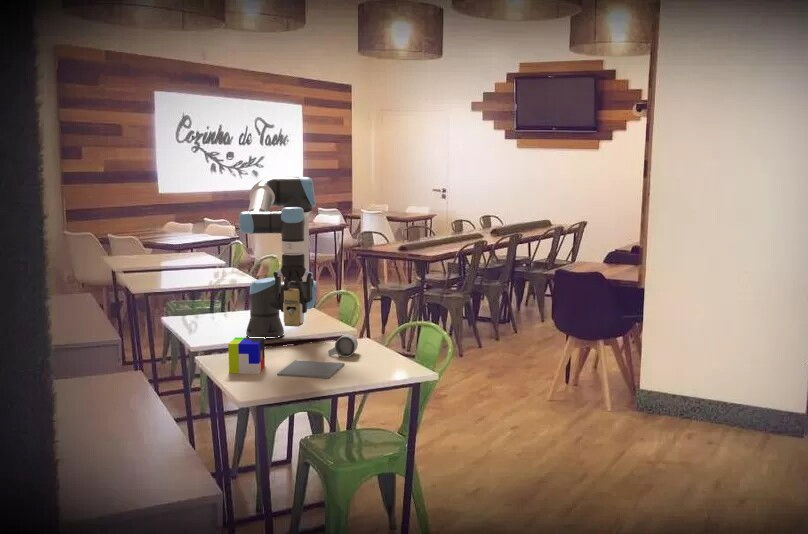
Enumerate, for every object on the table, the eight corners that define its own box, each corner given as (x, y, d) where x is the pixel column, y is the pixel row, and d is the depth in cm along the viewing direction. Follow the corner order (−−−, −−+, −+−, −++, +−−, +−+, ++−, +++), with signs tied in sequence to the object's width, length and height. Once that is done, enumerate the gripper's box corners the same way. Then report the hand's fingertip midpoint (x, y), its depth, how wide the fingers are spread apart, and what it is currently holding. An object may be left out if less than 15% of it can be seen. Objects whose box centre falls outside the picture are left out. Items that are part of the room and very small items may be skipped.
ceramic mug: (358, 352, 292) (358, 332, 291) (355, 357, 284) (355, 336, 283) (330, 352, 293) (330, 331, 292) (326, 357, 285) (325, 336, 284)
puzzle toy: (258, 373, 262) (258, 344, 261) (229, 373, 262) (228, 343, 261) (264, 365, 272) (264, 337, 271) (236, 365, 272) (235, 337, 271)
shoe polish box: (298, 326, 263) (298, 291, 261) (284, 325, 264) (283, 290, 262) (303, 323, 268) (302, 288, 266) (289, 323, 269) (288, 288, 267)
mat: (295, 362, 277) (295, 360, 277) (344, 364, 274) (344, 363, 274) (277, 375, 260) (277, 373, 260) (329, 378, 256) (329, 376, 256)
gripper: (263, 254, 261) (264, 322, 264) (315, 255, 257) (316, 325, 260) (271, 251, 268) (272, 318, 271) (322, 253, 265) (322, 320, 268)
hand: (294, 321), depth 266 cm, fingers closed on shoe polish box, 5 cm apart
